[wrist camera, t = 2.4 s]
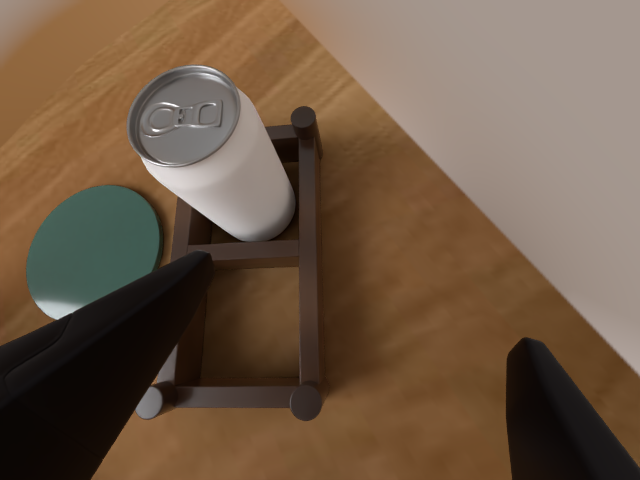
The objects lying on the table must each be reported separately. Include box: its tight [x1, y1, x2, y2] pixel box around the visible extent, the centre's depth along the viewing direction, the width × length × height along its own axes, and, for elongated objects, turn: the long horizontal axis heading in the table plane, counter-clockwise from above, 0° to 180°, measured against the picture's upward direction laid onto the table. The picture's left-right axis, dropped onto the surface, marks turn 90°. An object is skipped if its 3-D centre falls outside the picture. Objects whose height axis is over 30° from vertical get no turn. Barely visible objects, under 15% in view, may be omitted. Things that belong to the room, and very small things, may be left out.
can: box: [127, 65, 296, 242], centre depth 20 cm, size 6×6×12 cm
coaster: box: [26, 185, 163, 320], centre depth 26 cm, size 12×12×1 cm
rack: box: [135, 106, 329, 421], centre depth 22 cm, size 20×11×5 cm, turn 1°
